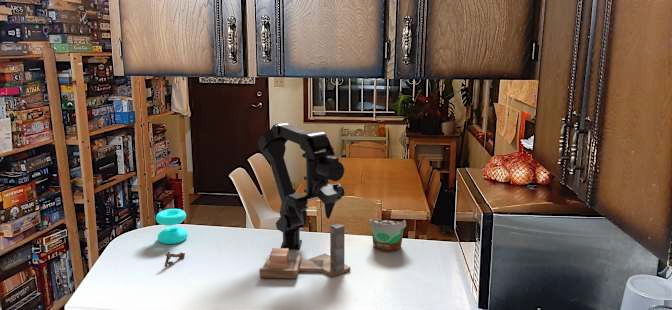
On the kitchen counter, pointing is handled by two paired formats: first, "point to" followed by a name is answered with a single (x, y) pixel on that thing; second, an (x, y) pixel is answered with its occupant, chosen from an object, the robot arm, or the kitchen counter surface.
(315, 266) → the pull board
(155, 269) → the kitchen counter surface
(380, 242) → the food container
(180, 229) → the donuts
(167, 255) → the dark triangular frame
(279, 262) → the block
